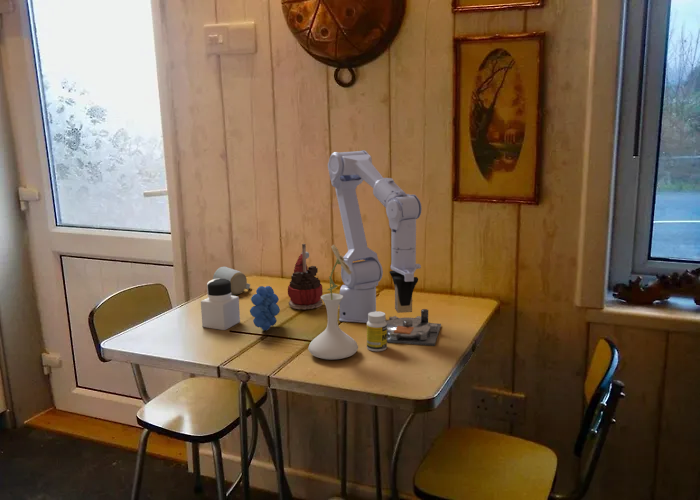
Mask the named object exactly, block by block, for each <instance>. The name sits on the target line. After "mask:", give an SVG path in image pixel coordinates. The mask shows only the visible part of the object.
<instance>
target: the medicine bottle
mask: <svg viewBox="0 0 700 500" xmlns="http://www.w3.org/2000/svg"><path fill="white" fill-rule="evenodd" d="M206 290H207V298H205V299H202V300H200V309H201V312H200V313H201V324H202V325H201V326H202V327H203V328H208V329H214V330H219V331H226V330H228V329H230V328H231V327H234V326H235V325H237V324H239V323H240V322H241V316H240V315H241V314H240V297H239V296H236V295H232V294H231V282H230V281H229V280H227V279H213V278H212V279H211V280H209V281H208V282H207V283H206Z"/></svg>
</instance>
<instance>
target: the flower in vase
mask: <svg viewBox="0 0 700 500" xmlns="http://www.w3.org/2000/svg"><path fill="white" fill-rule="evenodd" d="M330 247H331V250H332V252H333V254H334V256H335V257H336V260H335V263H334V265H333V268H332V270H331V272H330V276H329V277H328V278H329V288H328V289H327V291H329V292H330V293H326V294H323V295H322V296H321V300H322V301H323V304H324V305H325V308H326V314H327V315H326V316H327V326H326V328H325V329H324V330H323V331H322V332H320V334H318V335H317V336H315V338H313V339H312V340H311V342H310V343H309V345H308V348H307V349H308V351H309V353H310V354H311V355H312V356H313V357H315V358H320V359H322V360H341V359H345V358H348V357H351V356H353V355H355V354H356V352H358V350H359V345H358V343H357V341H356V340H355V339H354V338H353V337H351V336H350V335H349V334H347V333H346V332H345V331H343V330H342V329H341V328H340V326H339V322H338V321H339V318H338V312H339V304H340V301H341V300H342V298H343V295H340V293H333V291H332V290H334V289H336V288H338V285H337V284H335V282H334V280H333V273H334V271H335V269H336V267H337V265H340V266H341V265H342V267H343V268H344V270H345V271H346V272H347V273H348V274H349V275H350V274H351V273H352V272H351V271H350V270H349V269H350V268H349V266H348V265H347V264H346V263H345V262H344V258H343V257H344V255H340V252H339V248H338V247H336V244H333V245H331V246H330Z"/></svg>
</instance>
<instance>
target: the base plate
mask: <svg viewBox="0 0 700 500" xmlns="http://www.w3.org/2000/svg"><path fill="white" fill-rule="evenodd" d="M385 321H386V322H387V321H389V319H385ZM429 323H430V324H437V325H438V332H430V333H429V334H428V335H427V339H425V340H419V339H418V338H399V339H398V340H393V339H390V335H388V334H387V344H388V343H390V344H391V343H392V344H401V345H402V344H406V345H418V346H430V347H431V346H432V347H435V346H436V343H437V339H438V336H439V332H440V331H441V327H442V323H435V322H434V323H433V322H429Z"/></svg>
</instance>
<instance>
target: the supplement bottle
mask: <svg viewBox="0 0 700 500" xmlns="http://www.w3.org/2000/svg"><path fill="white" fill-rule="evenodd" d="M386 318H387V317H386V313H385V312H383V311H377V310H376V311H375V312H370V313H369V314H368V320H369V321H368V322H367V323H366V348H367V350H369V351H371V352H383V351H385V350H386V349H387V348H388V342H387V322H386V321H385V320H387V319H386Z"/></svg>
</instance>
